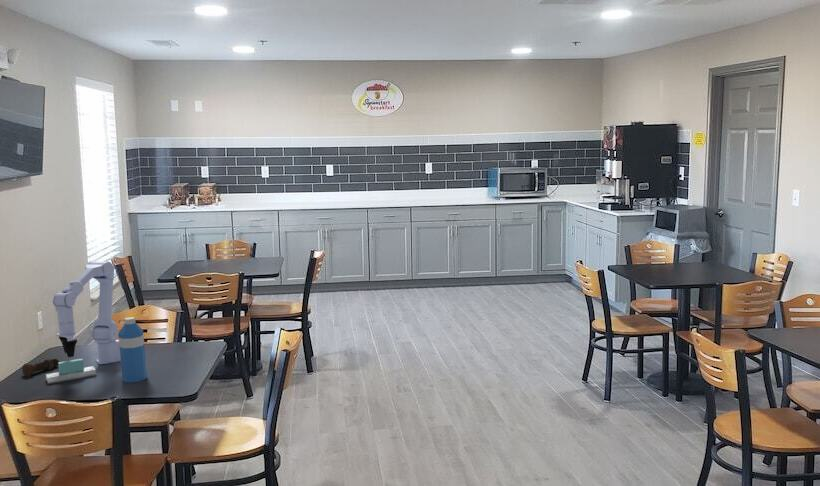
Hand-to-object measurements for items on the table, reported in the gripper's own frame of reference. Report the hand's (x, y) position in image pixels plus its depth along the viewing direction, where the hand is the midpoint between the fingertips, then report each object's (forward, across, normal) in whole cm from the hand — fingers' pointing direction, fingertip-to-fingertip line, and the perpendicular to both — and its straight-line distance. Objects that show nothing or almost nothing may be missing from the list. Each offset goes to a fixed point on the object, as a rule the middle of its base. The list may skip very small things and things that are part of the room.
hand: (69, 354), depth 312 cm
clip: (+9, 0, 0) cm, 9 cm away
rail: (+10, 0, 0) cm, 10 cm away
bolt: (+10, -18, -8) cm, 23 cm away
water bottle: (+10, +18, +21) cm, 29 cm away
